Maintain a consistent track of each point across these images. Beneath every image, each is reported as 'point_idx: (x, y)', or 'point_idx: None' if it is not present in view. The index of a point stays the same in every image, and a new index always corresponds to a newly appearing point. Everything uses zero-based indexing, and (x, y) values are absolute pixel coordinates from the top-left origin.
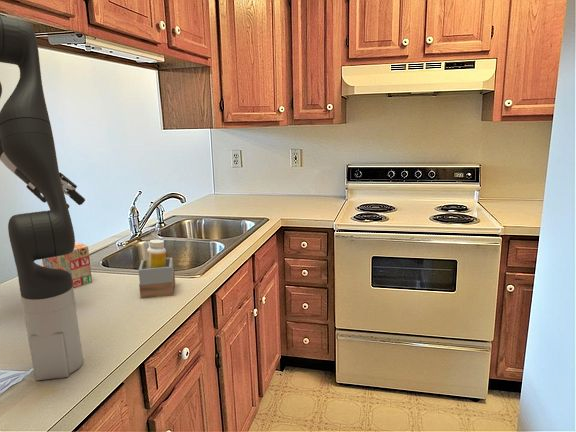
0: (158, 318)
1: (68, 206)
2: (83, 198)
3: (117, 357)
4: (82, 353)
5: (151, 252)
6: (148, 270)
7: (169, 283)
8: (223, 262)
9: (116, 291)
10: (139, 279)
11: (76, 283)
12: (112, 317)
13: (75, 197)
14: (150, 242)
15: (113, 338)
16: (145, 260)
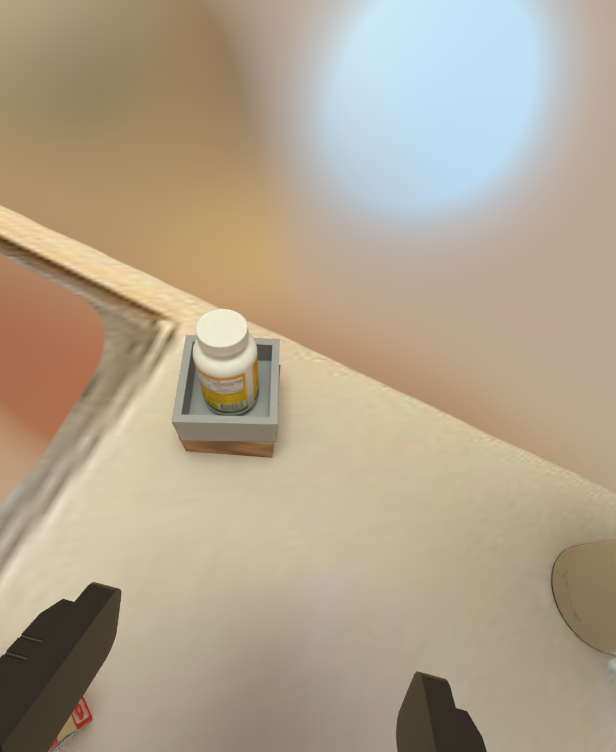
0: (396, 411)
1: (434, 677)
2: (99, 596)
3: (552, 478)
4: (584, 544)
5: (251, 362)
6: (277, 398)
7: (279, 371)
8: (92, 265)
9: (193, 533)
10: (276, 435)
11: (79, 707)
12: (375, 517)
13: (57, 707)
14: (234, 345)
15: (480, 498)
16: (182, 409)
